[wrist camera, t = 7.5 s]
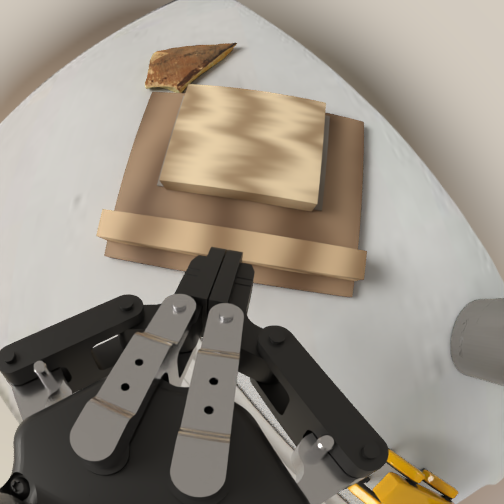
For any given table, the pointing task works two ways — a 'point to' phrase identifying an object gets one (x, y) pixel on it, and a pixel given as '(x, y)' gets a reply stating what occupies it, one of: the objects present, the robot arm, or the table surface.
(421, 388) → the table surface
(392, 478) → the robot dog
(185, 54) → the shard
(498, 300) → the robot arm
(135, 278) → the table surface
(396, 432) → the table surface
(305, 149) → the oak plank
